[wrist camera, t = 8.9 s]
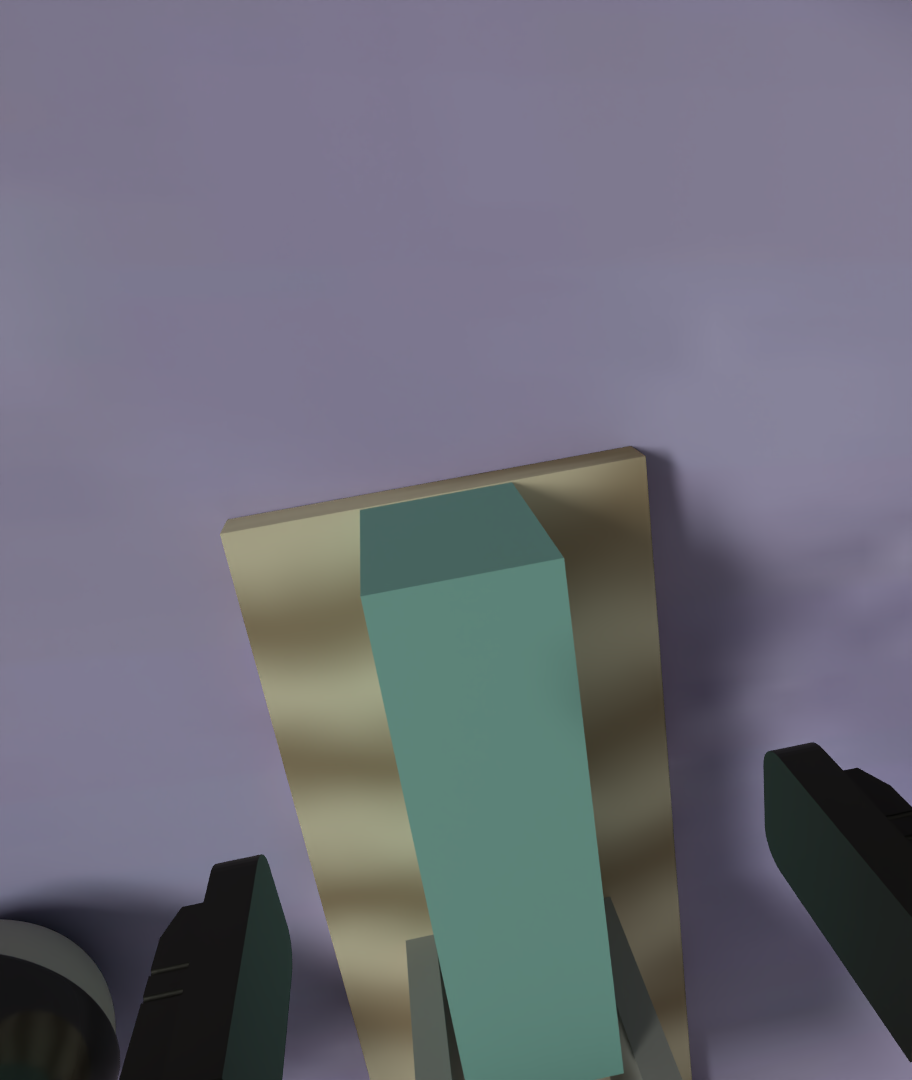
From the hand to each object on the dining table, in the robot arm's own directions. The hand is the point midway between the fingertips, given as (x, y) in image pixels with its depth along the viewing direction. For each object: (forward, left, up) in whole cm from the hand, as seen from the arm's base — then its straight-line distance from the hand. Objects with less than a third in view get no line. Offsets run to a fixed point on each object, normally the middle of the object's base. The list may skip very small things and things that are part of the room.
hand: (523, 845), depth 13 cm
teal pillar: (+8, 0, -15) cm, 16 cm away
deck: (+19, 0, -16) cm, 25 cm away
